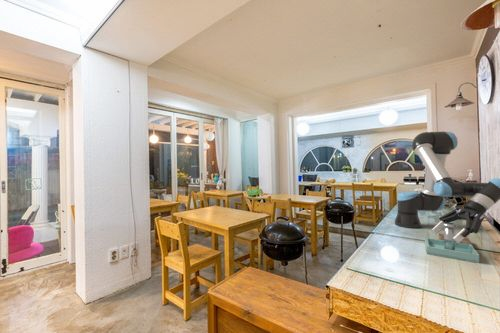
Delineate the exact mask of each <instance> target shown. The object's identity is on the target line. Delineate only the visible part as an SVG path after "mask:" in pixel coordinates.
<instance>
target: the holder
mask: <svg viewBox="0 0 500 333" xmlns="http://www.w3.org/2000/svg"><path fill="white" fill-rule="evenodd" d="M438 239H439V240H444V233H439V232H438ZM455 242H456V241H455ZM459 243H466V244H471V245H472V246H473V244H474V243H472V241H471V240H470V239H469V237H468V236H467V237H465V238H464V239H462V240H461V241H460V242H459ZM473 247H474V246H473Z"/></svg>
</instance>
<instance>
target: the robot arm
mask: <svg viewBox="0 0 500 333" xmlns="http://www.w3.org/2000/svg"><path fill="white" fill-rule="evenodd" d="M458 143H459V142H458V137H457V136H456V134H455V133H454V132H452V131H425V132H424V131H423V132H420V133H419V134H417V135H416V136H415V137H414V138H413V140H412V143H411V147H412V150H413V152H414V154H415V155H416V156H418V157H419V159H420V161H421V162H422V164H423V165H424V167H425V168H426V174H425V179H424V185H423V188H421V189H420V192H418V191H414V190H412V191H409V190H408V191H407V190H406V191H401V192H399V193H398V194H397V214H396V217H395V218H394V225H396V226H398V227H401V228H406V229H407V228H409V229H419V228H422V223H421V220H420V217H419V212H420V211H422V212H423V211H426V212H428V211H430V212H436V211H437V212H438V211H441V210H443V208H445V205H446V198H449V197H451V198H453V197H454V198H455V197H459V198H461V197H462V198H470V199H469V200H467V202H465V203H464V204H463V208H462V209H460V208H458V207H456V208H455V209H453V210H451V211H450V212H448V213H446V214H444V215H442V216H439V217H438V219H439V220H440V221H439V222H438V223H437V224H436V225H435V226H434V227H433V228H432V229H431V231H433V232H434V234H439V232H440V231H441V230H443V229H444V226H442V223H444V222H446V223H453V222H455V221H458V220H459V221H460V220H463V221H466V224H465V227H464V228H462V229H461V230H460V231H459V232H458V233H457V234H455V237H454V238H453V239H454V240H455V241H456V242H458V243H459V242H460V241H461V240H462V239H464V238H465V237H468V236H469V235H470V234H478V232H479V231H480V228H481V225H482V222H483V220H485V216H484V214H485V213H486V212H487V211H488V210H489V209H490V208H492V207H493V206H494V205H495V204H496V203H498V202H499V201H500V178H497V177H495V178H492V179H491V180H489V181H488V182H475V181H467V182H464V181H461V182H457V181H455V180H453V177H452V176H451V175H450V174H449V172H448V170H447V169H446V168H445V166H446V161H447V157H448V156H449V155H450V154H451V151H453V150H455V149H456V148H457V147H458ZM445 197H446V198H445Z"/></svg>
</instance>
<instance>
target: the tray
mask: <svg viewBox="0 0 500 333" xmlns="http://www.w3.org/2000/svg"><path fill="white" fill-rule="evenodd" d="M424 246H425V250H426V255H432V256H436V257H443V258H448V259H453V260H454V259H455V260H458V261H463V262H464V261H465V262H470V263H476V264H479V263H480V254H479V252H478V251H477V250H476V248H474V246H472V245H471V244H466V243H458V242H455V251H454V250H448V249H444V240H439V238H431V237H424Z"/></svg>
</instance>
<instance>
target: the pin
mask: <svg viewBox="0 0 500 333" xmlns="http://www.w3.org/2000/svg"><path fill="white" fill-rule="evenodd" d="M442 226H444V228H443V234H444V249H448V250H454V251H455V240H454V239H453V238H454V237H455V236H456V228H458V224H456V223H453V222H449V223H446V222H444V223H442Z"/></svg>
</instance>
